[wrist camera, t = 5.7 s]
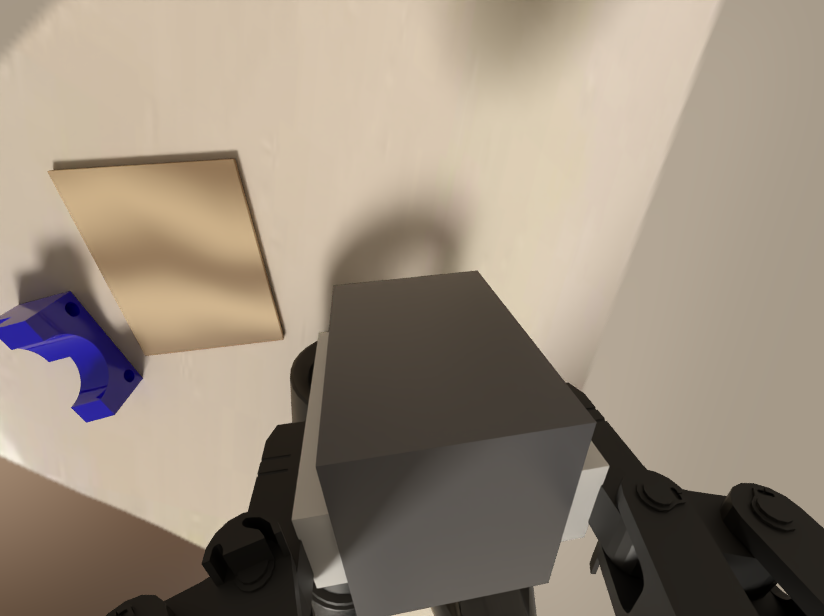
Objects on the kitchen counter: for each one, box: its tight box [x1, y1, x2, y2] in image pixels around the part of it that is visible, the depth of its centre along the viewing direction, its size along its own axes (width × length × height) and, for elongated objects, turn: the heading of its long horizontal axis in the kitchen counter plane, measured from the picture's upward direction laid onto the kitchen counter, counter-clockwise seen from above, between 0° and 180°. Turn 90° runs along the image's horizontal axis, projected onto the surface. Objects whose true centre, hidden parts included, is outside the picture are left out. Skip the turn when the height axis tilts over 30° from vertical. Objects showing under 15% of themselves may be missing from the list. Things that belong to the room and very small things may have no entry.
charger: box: [315, 271, 597, 616], centre depth 11 cm, size 8×5×7 cm, turn 3°
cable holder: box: [0, 291, 143, 423], centre depth 24 cm, size 8×4×4 cm, turn 13°
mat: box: [47, 158, 284, 356], centre depth 24 cm, size 13×10×1 cm
